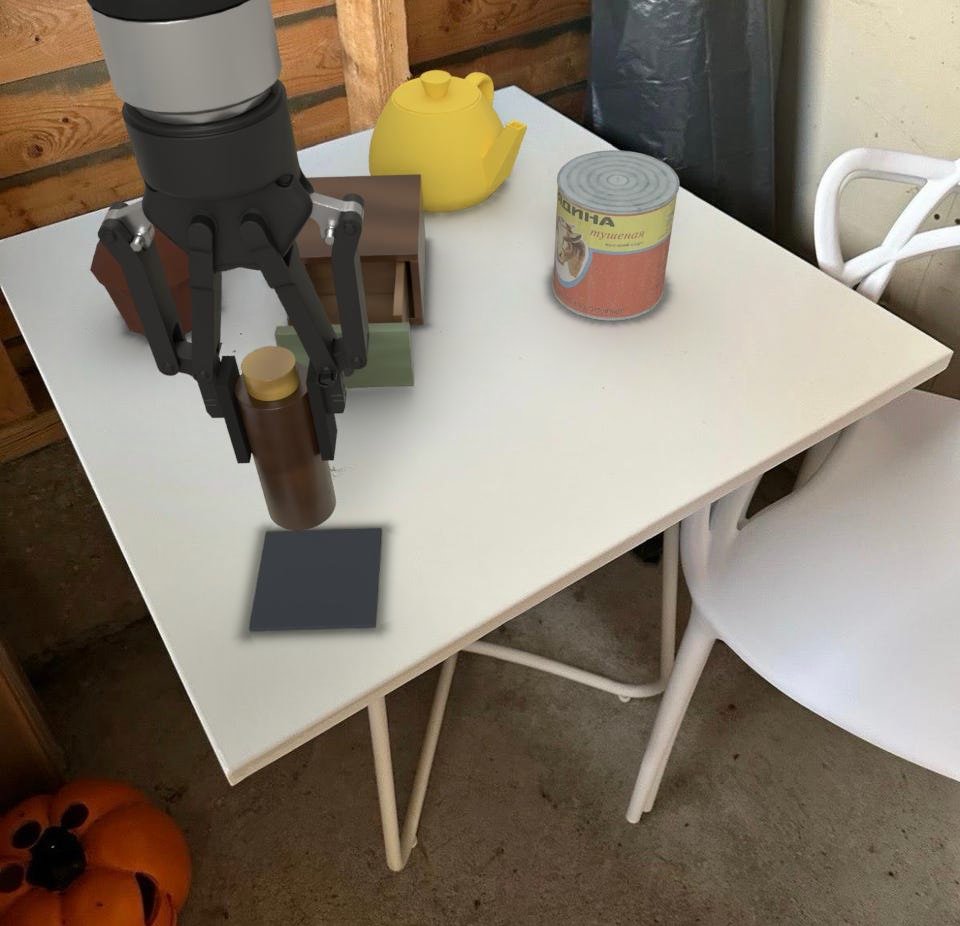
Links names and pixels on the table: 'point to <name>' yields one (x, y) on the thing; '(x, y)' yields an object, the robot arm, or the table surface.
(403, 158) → the teapot
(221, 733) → the table surface
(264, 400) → the bottle
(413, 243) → the cabinet
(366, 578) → the mat
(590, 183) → the canned food
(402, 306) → the drawer
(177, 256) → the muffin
